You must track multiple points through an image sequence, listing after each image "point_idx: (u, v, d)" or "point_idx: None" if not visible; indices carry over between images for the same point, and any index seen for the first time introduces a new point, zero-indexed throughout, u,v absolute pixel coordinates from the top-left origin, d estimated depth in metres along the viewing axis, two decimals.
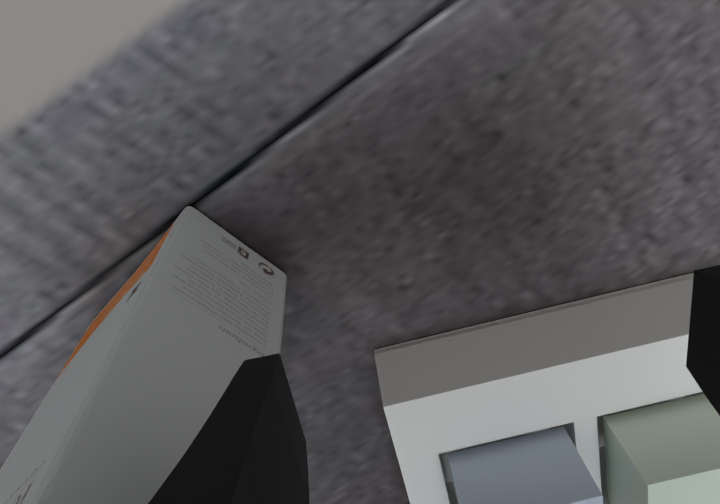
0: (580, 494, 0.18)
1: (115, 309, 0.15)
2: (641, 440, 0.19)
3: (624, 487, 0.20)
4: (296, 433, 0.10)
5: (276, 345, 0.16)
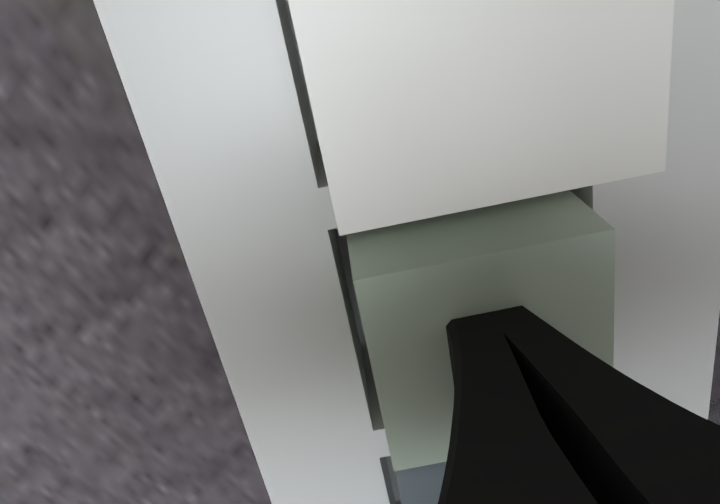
0: None
1: None
2: None
3: None
4: None
5: None
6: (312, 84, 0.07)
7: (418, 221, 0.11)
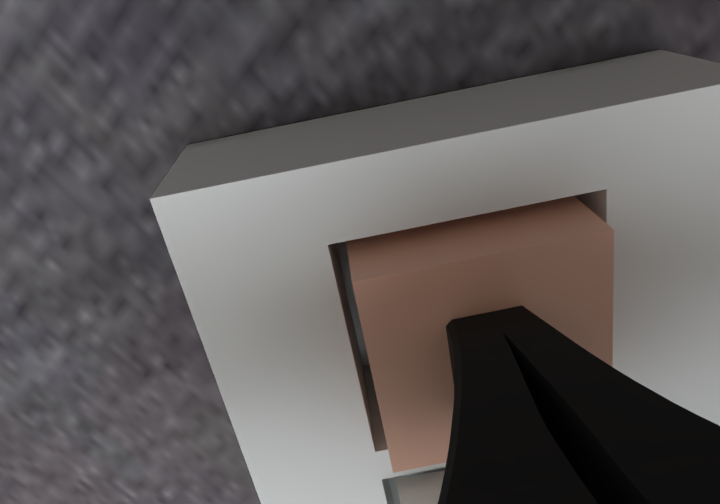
0: None
1: None
2: None
3: None
4: None
5: None
6: None
7: None
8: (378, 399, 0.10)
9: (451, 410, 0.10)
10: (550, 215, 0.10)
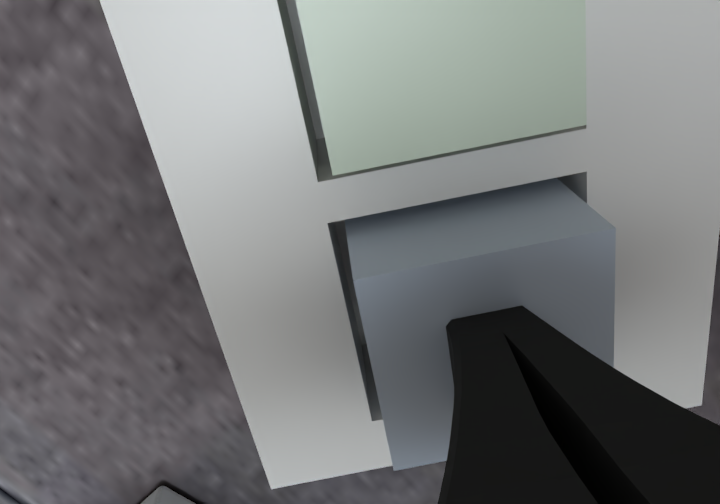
0: (358, 305, 0.10)
1: None
2: None
3: None
4: None
5: None
6: None
7: None
8: None
9: None
10: None
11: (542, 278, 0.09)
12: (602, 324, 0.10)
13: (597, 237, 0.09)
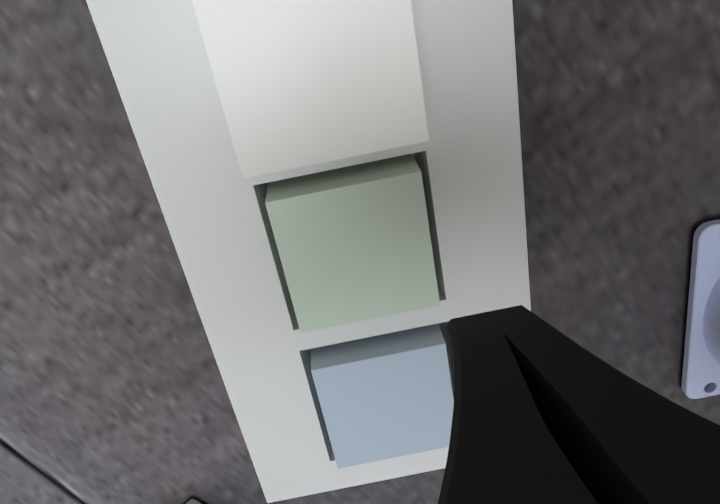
0: (315, 381, 0.18)
1: None
2: None
3: None
4: None
5: None
6: (221, 92, 0.12)
7: None
8: None
9: None
10: None
11: (409, 367, 0.18)
12: (445, 390, 0.19)
13: (436, 348, 0.18)
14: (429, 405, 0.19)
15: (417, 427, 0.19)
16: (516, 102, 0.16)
